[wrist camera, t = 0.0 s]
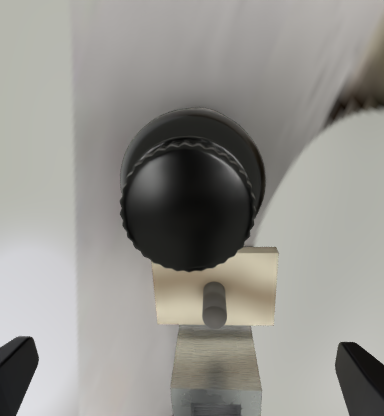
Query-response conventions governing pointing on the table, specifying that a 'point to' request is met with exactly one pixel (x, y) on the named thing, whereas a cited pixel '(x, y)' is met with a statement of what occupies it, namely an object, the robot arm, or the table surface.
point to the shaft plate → (239, 285)
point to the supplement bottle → (191, 189)
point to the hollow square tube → (215, 372)
